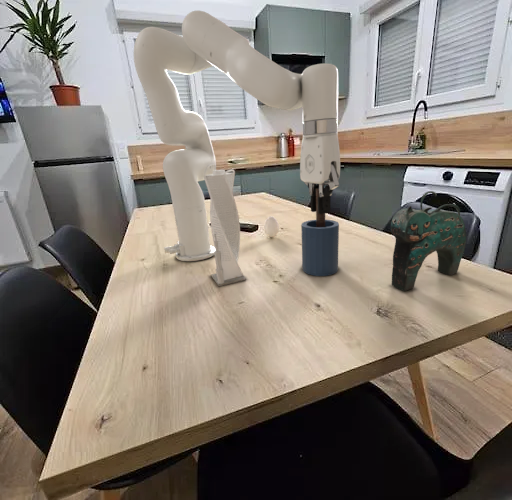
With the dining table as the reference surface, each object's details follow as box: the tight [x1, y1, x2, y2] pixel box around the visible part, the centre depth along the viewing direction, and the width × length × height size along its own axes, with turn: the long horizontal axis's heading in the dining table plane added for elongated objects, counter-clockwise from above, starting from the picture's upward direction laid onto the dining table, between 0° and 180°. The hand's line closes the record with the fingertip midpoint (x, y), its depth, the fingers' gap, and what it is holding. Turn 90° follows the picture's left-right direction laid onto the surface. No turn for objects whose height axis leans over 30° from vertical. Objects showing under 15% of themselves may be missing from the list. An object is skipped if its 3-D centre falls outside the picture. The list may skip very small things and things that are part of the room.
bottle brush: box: [315, 188, 326, 227], centre depth 72 cm, size 4×4×15 cm
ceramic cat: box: [390, 190, 467, 292], centre depth 63 cm, size 20×6×20 cm, turn 114°
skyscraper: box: [204, 163, 247, 287], centre depth 71 cm, size 8×8×28 cm
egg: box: [263, 215, 280, 238], centre depth 105 cm, size 5×5×8 cm
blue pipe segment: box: [300, 219, 340, 277], centre depth 74 cm, size 9×9×12 cm
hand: (320, 211), depth 71 cm, fingers closed on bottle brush, 2 cm apart
